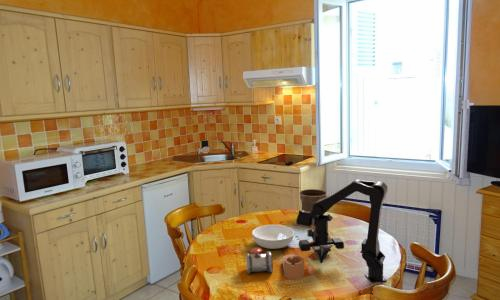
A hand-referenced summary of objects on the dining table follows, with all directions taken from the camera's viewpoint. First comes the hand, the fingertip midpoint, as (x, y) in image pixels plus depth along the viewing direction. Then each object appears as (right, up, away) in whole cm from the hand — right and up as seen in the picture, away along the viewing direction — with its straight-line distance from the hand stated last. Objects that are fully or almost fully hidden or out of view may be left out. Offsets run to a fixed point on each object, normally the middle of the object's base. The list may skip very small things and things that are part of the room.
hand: (321, 262), depth 159 cm
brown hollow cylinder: (-12, -3, -1) cm, 13 cm away
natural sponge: (+4, +1, +14) cm, 15 cm away
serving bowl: (-19, +1, +24) cm, 31 cm away
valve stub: (-27, -3, -2) cm, 27 cm away
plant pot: (+7, +8, +59) cm, 60 cm away
